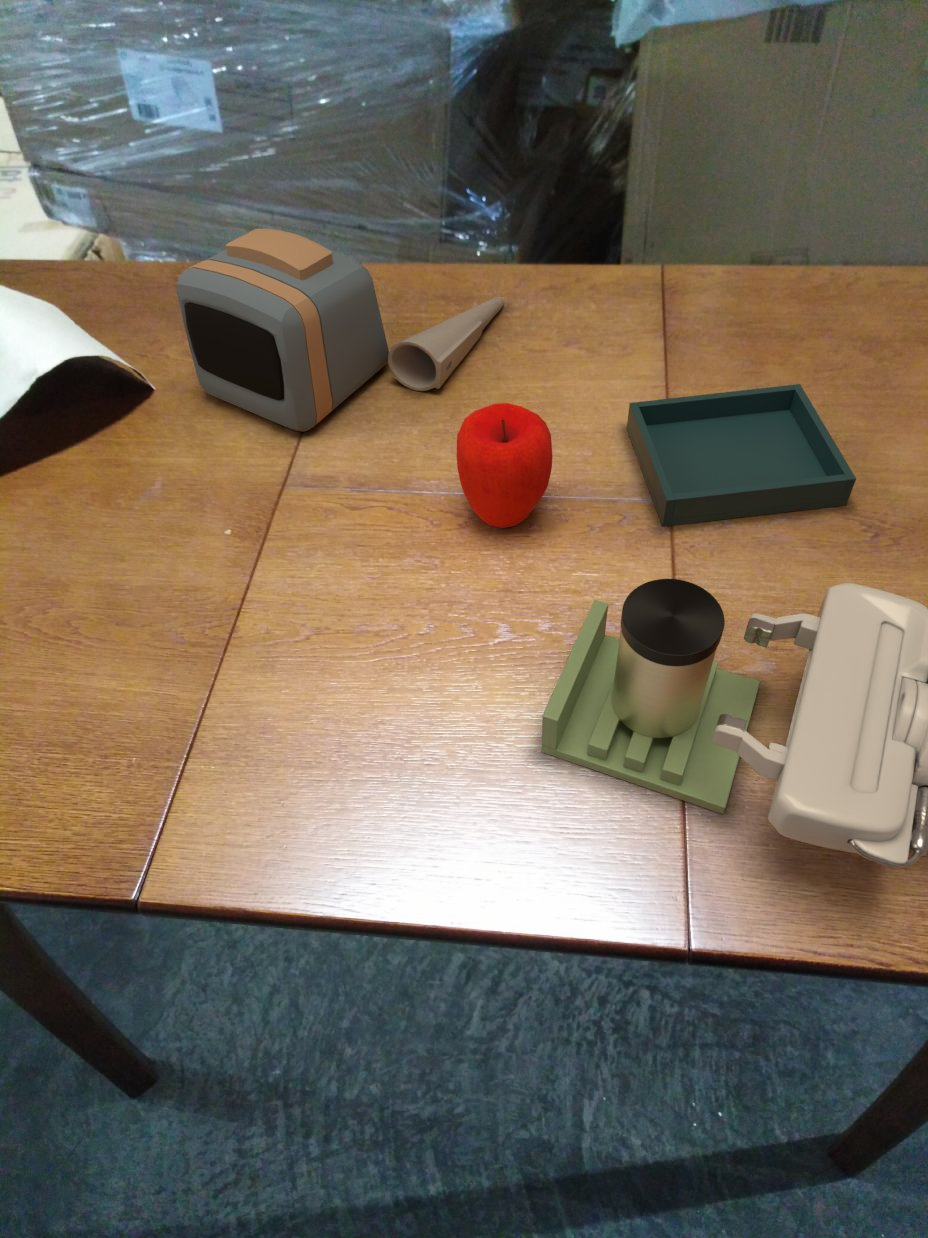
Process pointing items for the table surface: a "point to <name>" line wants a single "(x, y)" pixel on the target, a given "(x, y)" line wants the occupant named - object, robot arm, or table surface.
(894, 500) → the table surface
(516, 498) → the apple
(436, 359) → the long tapered cone
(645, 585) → the travel mug
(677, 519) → the tray
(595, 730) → the drying rack
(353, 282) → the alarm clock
